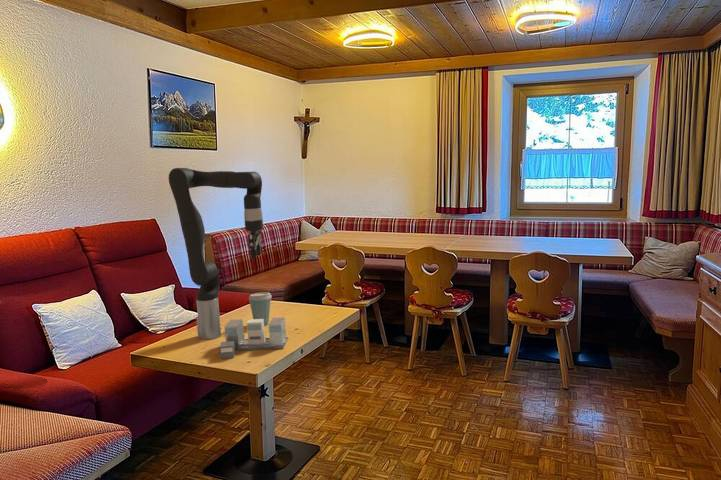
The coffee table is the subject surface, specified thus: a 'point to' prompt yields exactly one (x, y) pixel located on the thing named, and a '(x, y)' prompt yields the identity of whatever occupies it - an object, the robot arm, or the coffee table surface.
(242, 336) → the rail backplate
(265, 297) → the disposable coffee cup
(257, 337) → the block
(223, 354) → the block
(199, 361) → the coffee table surface
